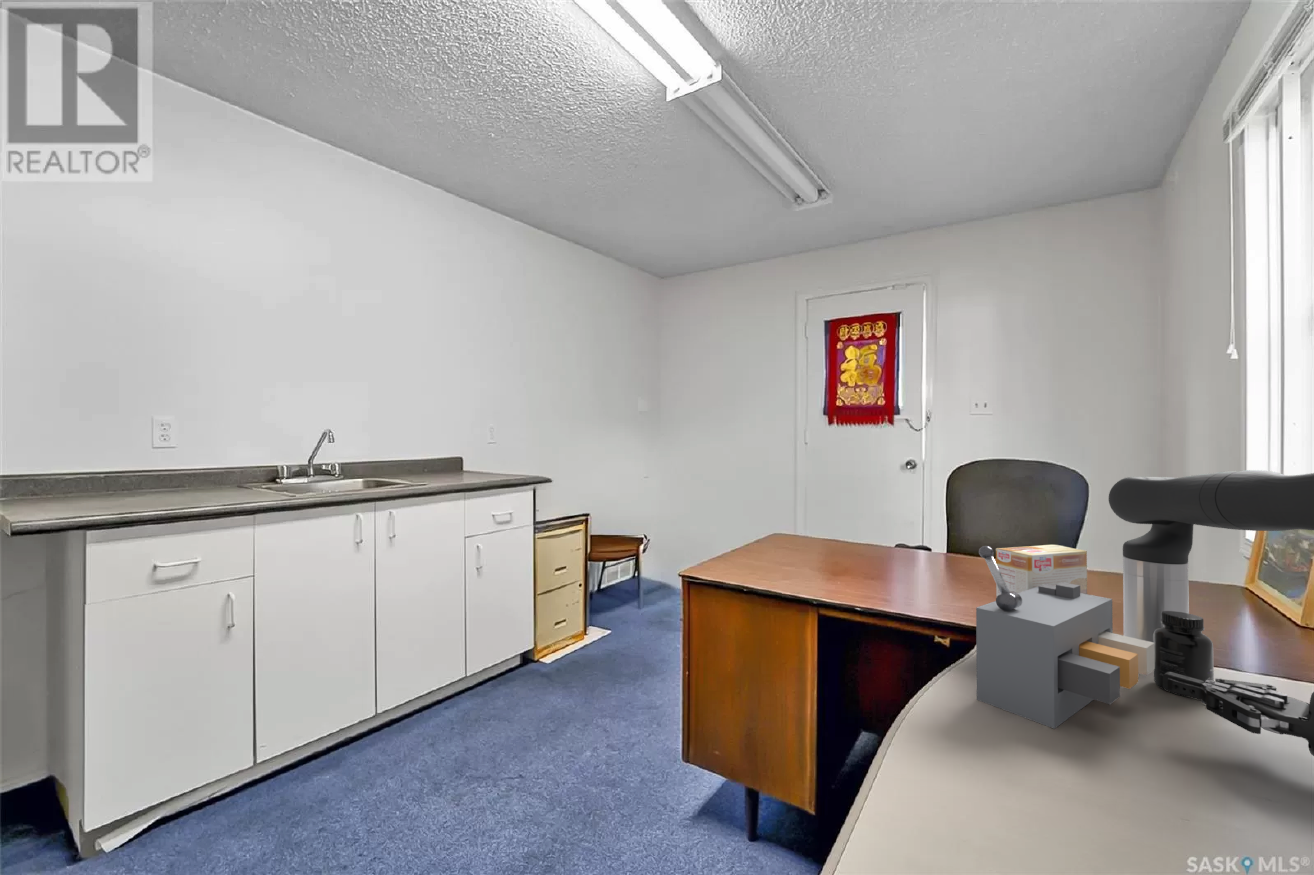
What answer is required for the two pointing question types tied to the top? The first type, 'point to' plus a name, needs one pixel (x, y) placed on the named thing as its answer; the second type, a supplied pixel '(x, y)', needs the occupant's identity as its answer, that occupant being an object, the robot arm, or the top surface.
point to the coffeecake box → (1041, 567)
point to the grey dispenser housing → (1036, 650)
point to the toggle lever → (1000, 582)
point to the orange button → (1113, 660)
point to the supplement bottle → (1182, 648)
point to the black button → (1089, 677)
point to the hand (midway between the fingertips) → (1164, 679)
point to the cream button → (1131, 649)
